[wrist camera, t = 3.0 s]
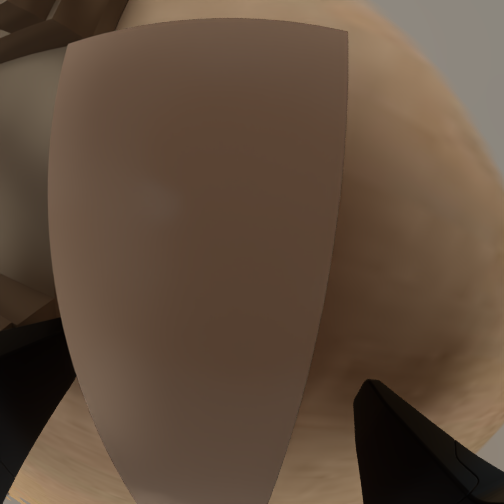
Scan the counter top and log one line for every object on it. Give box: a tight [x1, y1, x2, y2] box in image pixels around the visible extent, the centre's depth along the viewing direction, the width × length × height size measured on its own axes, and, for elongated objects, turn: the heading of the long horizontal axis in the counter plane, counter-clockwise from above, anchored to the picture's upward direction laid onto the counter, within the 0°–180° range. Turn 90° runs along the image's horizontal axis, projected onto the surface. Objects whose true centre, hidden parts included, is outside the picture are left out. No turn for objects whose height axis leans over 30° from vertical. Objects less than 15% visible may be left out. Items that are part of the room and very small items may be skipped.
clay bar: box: [48, 18, 348, 504], centre depth 7 cm, size 14×4×5 cm, turn 175°
